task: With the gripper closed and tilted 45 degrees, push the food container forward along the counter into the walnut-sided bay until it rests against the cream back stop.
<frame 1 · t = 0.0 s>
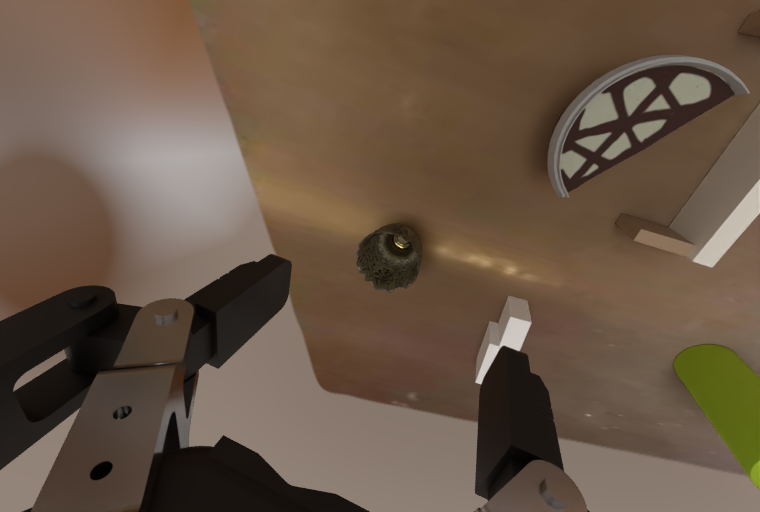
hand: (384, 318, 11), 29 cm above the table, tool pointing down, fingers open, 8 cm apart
cup: (403, 237, 42), on the table
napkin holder: (505, 327, 44), on the table
back stop bracket: (701, 142, 29), on the table
food container: (587, 113, 31), on the table
soap dispenser: (699, 365, 37), on the table
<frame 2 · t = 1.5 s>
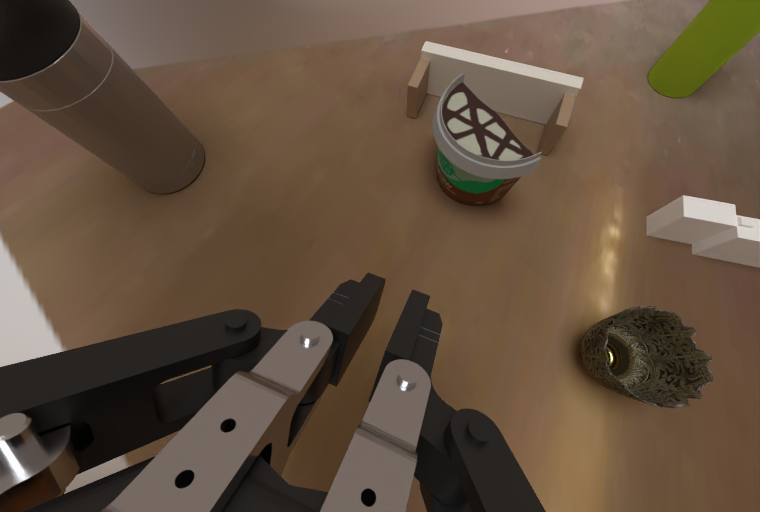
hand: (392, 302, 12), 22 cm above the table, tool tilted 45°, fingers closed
cup: (595, 356, 32), on the table
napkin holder: (693, 238, 35), on the table
back stop bracket: (479, 120, 41), on the table
food container: (455, 184, 39), on the table
soap dispenser: (674, 83, 41), on the table
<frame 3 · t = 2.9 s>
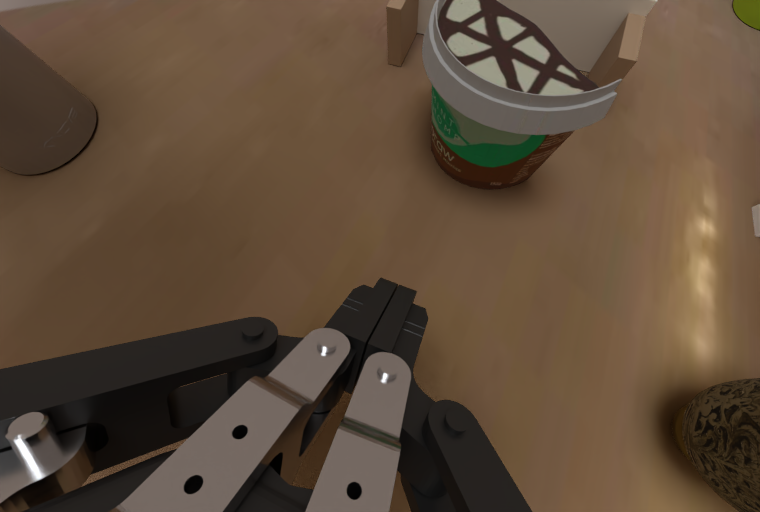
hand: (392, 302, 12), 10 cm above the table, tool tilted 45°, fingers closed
cup: (694, 433, 19), on the table
back stop bracket: (493, 67, 28), on the table
food container: (459, 157, 26), on the table
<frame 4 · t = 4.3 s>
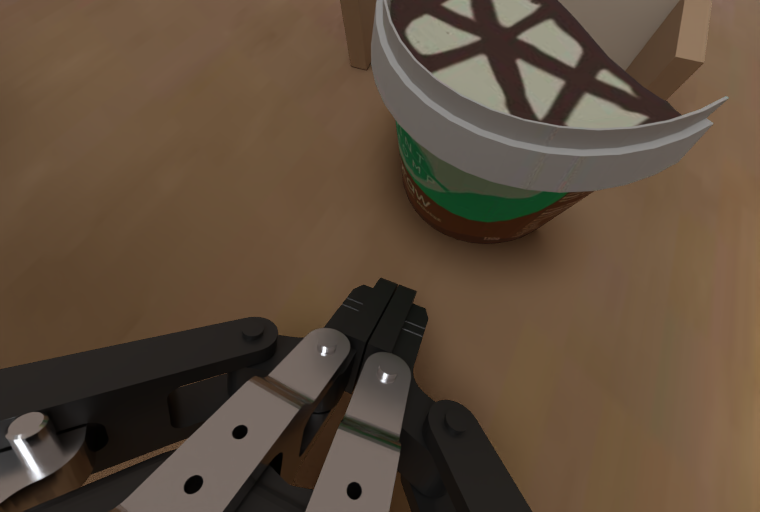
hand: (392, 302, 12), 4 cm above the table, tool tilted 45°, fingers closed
back stop bracket: (489, 71, 21), on the table
food container: (441, 196, 19), on the table
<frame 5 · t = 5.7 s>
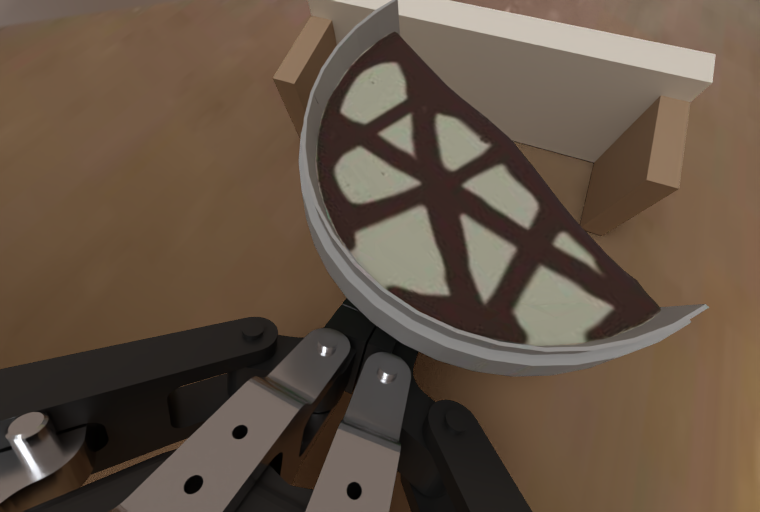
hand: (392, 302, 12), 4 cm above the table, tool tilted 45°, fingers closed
back stop bracket: (452, 152, 19), on the table
food container: (408, 280, 17), on the table, touching gripper
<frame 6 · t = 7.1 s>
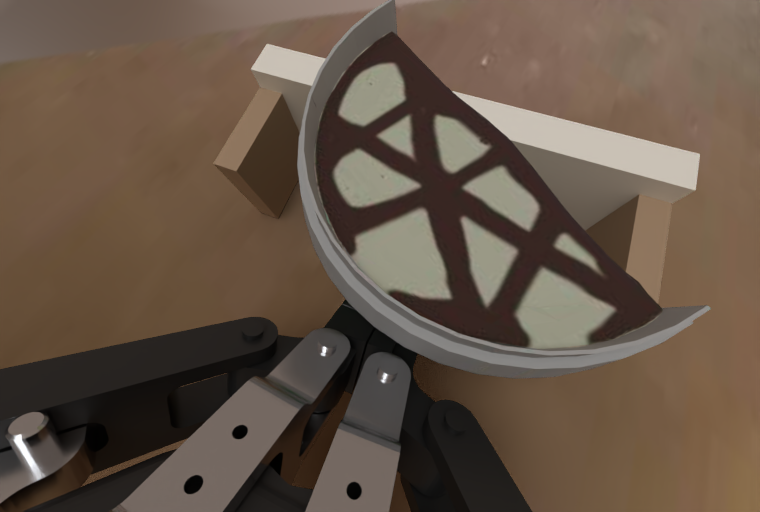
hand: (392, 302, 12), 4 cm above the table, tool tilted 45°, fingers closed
back stop bracket: (421, 224, 18), on the table
food container: (408, 280, 17), on the table, touching back stop bracket, gripper
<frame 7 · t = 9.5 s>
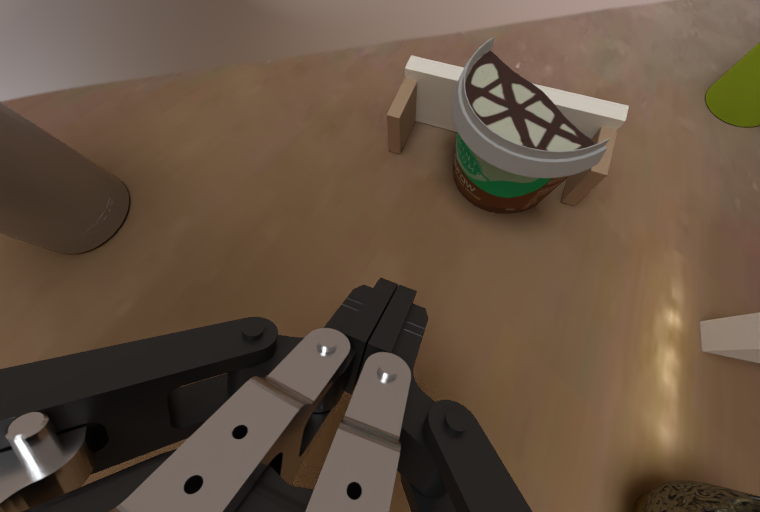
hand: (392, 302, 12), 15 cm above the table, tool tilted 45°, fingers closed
back stop bracket: (483, 156, 31), on the table
food container: (477, 186, 31), on the table
soap dispenser: (741, 107, 31), on the table
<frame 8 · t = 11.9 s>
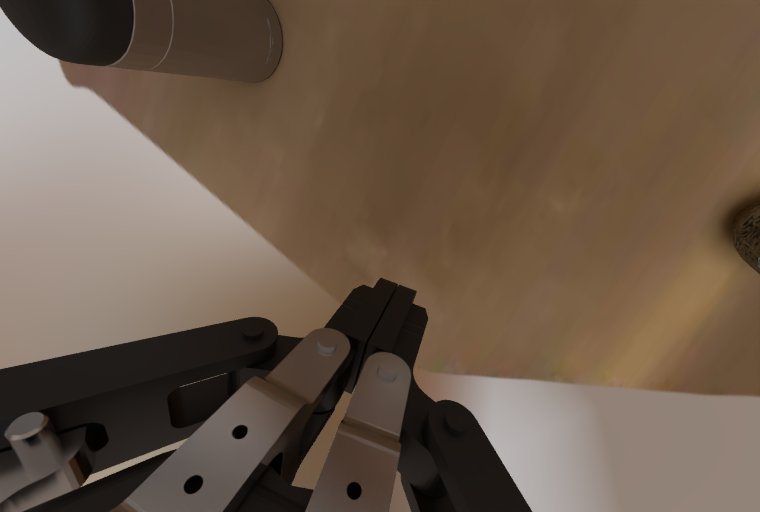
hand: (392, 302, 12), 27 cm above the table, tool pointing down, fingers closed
cup: (754, 219, 29), on the table
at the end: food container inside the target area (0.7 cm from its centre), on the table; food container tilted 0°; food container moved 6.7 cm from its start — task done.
